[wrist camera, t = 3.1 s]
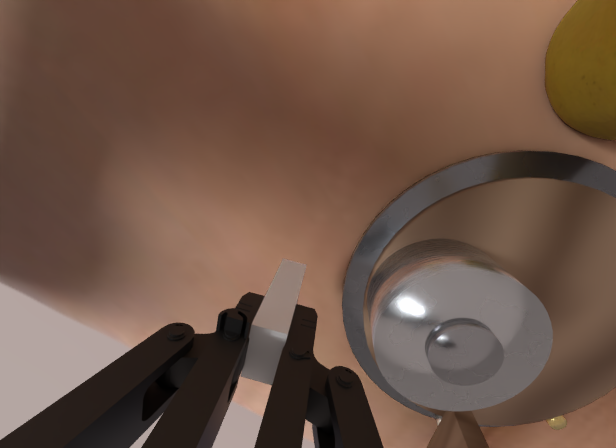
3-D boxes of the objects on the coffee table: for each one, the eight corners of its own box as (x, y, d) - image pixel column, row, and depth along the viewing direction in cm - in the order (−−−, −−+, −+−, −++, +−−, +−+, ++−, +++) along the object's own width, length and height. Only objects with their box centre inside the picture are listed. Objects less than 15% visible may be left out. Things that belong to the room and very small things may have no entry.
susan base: (312, 381, 25) (310, 395, 24) (395, 112, 18) (399, 111, 17) (565, 450, 25) (578, 468, 23) (751, 199, 18) (785, 205, 16)
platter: (320, 419, 25) (316, 478, 21) (414, 143, 18) (438, 146, 13) (539, 478, 25) (581, 552, 20) (728, 220, 17) (858, 250, 13)
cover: (351, 336, 21) (355, 399, 16) (390, 223, 19) (409, 256, 14) (472, 368, 21) (513, 442, 16) (530, 258, 18) (602, 306, 13)
